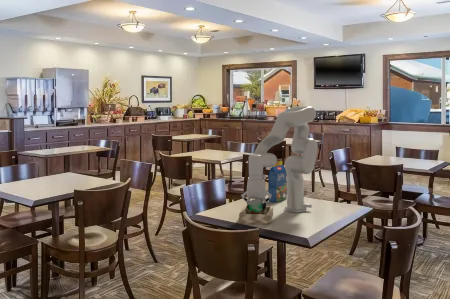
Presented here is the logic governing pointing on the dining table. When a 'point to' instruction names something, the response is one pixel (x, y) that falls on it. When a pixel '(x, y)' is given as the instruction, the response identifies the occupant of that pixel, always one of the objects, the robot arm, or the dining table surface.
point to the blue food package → (277, 183)
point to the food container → (256, 206)
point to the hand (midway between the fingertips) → (256, 209)
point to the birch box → (256, 216)
